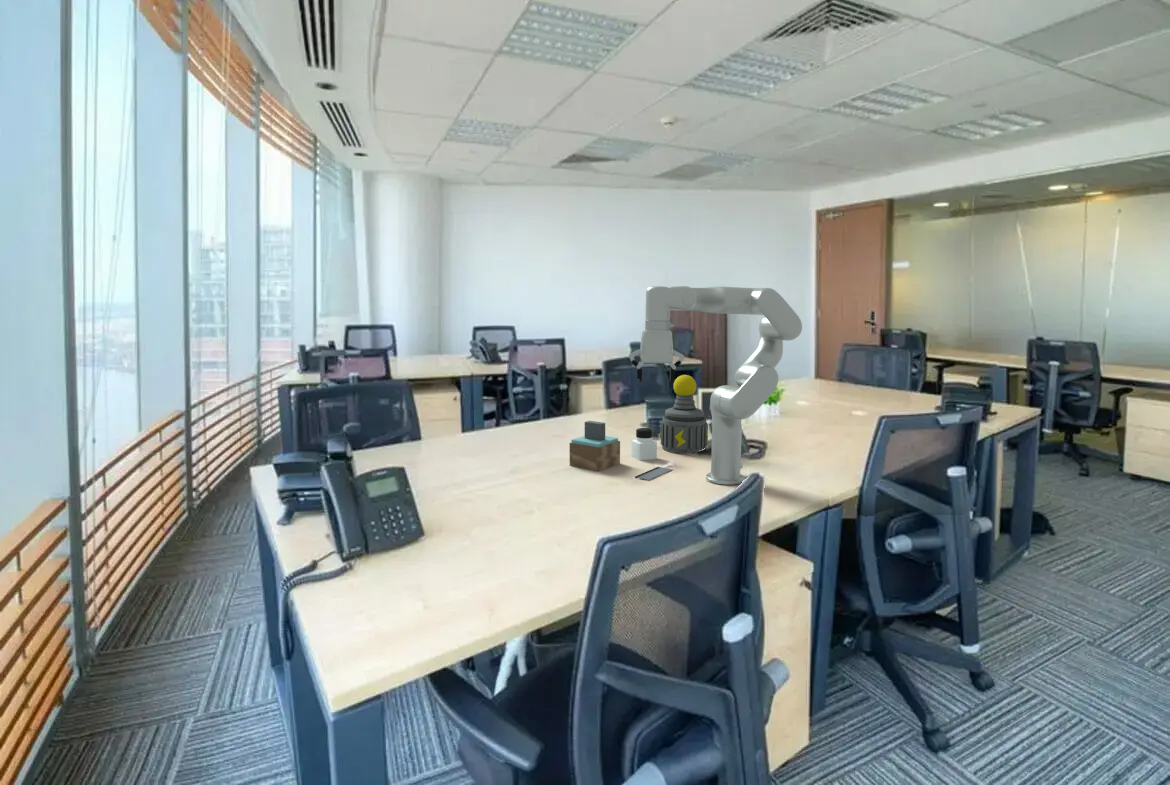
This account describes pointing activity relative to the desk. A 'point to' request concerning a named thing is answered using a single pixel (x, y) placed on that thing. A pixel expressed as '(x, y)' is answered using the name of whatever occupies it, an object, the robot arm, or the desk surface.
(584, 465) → the box
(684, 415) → the decorative lamp
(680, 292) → the robot arm
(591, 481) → the desk surface
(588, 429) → the lid
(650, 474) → the mat
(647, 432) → the medicine bottle
